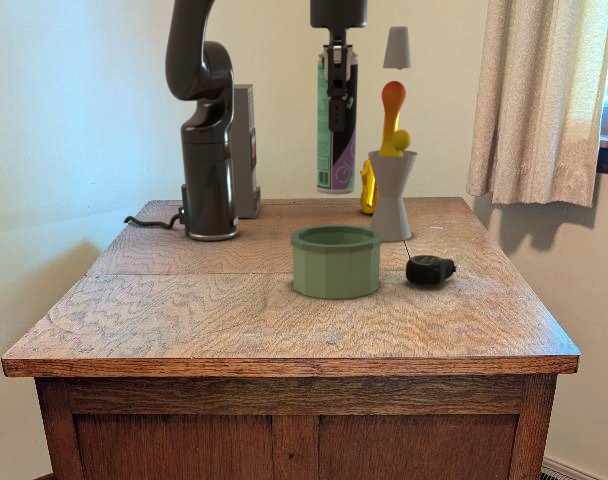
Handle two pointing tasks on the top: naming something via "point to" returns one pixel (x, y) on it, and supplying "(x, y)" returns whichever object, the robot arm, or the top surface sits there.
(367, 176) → the figure statuette
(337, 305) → the top surface
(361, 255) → the hollow green tube
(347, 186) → the spray can
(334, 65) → the robot arm
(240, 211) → the tall labeled grey carton
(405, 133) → the lava lamp
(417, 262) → the tape measure
